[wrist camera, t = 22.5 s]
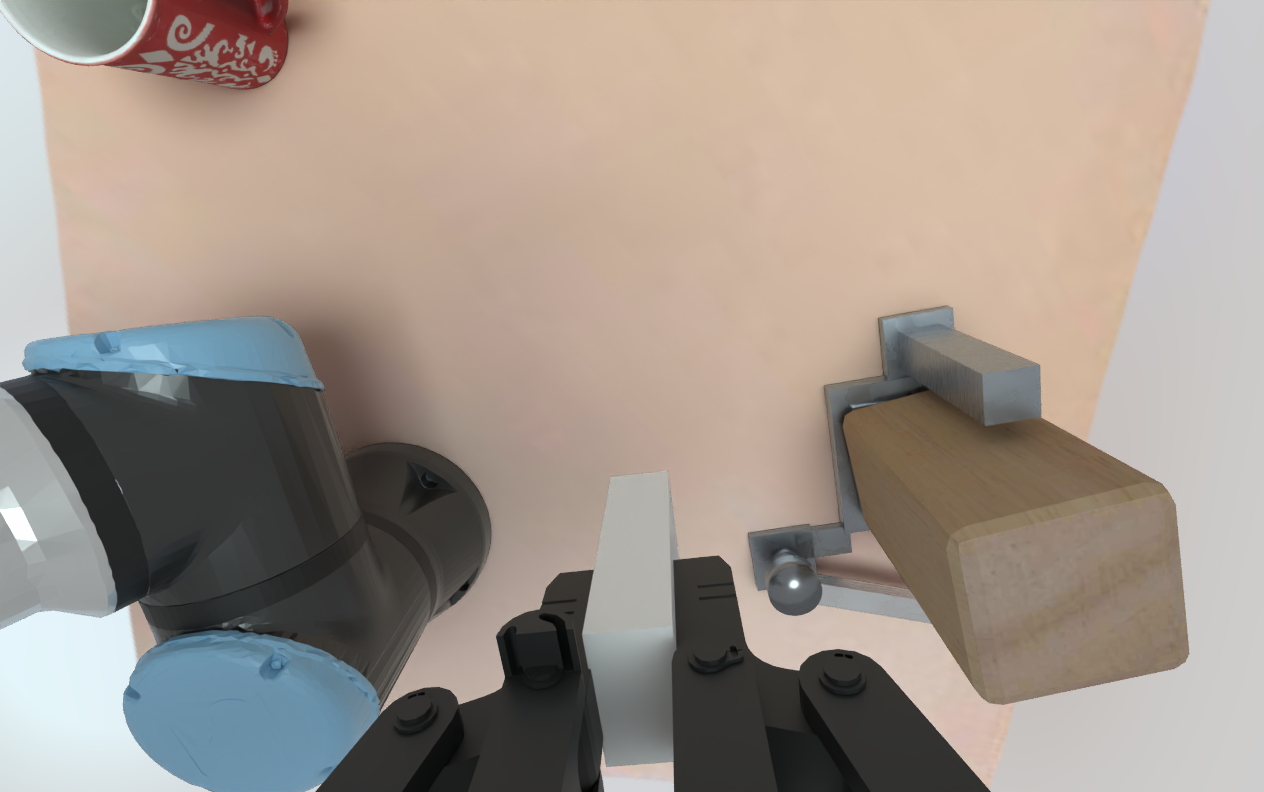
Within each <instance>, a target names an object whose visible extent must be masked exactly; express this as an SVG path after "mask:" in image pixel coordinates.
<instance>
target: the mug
mask: <svg viewBox="0 0 1264 792" xmlns="http://www.w3.org/2000/svg"><path fill="white" fill-rule="evenodd" d="M287 9H288V0H0V11H1V13H2V14H3V15H4V17H5V18H6V19H7V21H8V22H9V23H10V24H11V25H12V27H13V28H14V29H15V30H16V31H17V32H18V33H19V34H20V35H21V36H22V37H23V38H24V39H25V40H27V41H28V42H29V43H30V44H32V45H33V46H35V47H36V48H37V49H39V50H41V51H42V52H44V53H46V54H47V55H49V56H51V57H54V58H56V59H58V60H61V61H64V62H66V63H71V64H75V65H84V66H97V65H105V66H111V67H116V68H121V69H127V70H133V71H138V72H145V73H152V74H157V75H163V76H169V77H174V78H179V79H185V80H192V81H197V82H202V83H208V84H213V85H218V86H223V87H228V88H233V89H251V88H256V87H259V86H261V85H263V84H265V83H267V82H268V81H270V80H271V79H272V78H273V77H274V76H275V75H276V74H277V72H278V71H279V70H280V68H281V66H282V64H283V62H284V59H285V56H286V52H287V43H288V37H287V29H286V24H285V20H284V18H285V15H286V13H287Z"/></svg>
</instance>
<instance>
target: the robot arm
mask: <svg viewBox="0 0 1264 792" xmlns="http://www.w3.org/2000/svg"><path fill="white" fill-rule="evenodd" d="M24 353H25V359H24V360H23V362H22V364H23V366H24V368H25V370H28V371H29V372H31V375H28V376H25V377H22V378H17V379H13V380H9V381H5V382H1V383H0V629H2V628H4V627H7V626H9V625H11V624H13V623H15V622H17V621H19V620H21V619H24V618H26V617H28V616H30V615H32V614H34V613H36V612H41V611H52V610H54V611H61V612H68V613H74V614H80V615H87V616H93V617H99V618H100V617H104V616H107V615H109V614H112V613H114V612H116V611H118V610H120V609H122V608H124V607H126V606H128V605H130V604H132V603H134V602H136V601H139V603H140V606H141V608H142V610H143V612H144V614H145V616H146V619H147V621H148V623H149V626H150V628H151V630H152V632H153V634H154V637H155V639H156V641H157V645H156V646H154V647H153V648H151V649H150V650H149V651H147V652H146V653H145V654H144V655H143V656H142V657H141V658H140V660H139V661H138V663H137V665H136V667H135V670H134V671H133V673H132V675H131V676H130V682H129V685H128V687H127V688H126V690H125V692H124V698H123V711H124V714H125V718H126V722H127V725H128V727H129V729H130V731H131V733H132V735H133V736H134V738H135V740H136V741H137V743H138V744H139V745H140V746H141V748H142V749H143V750H144V751H145V752H146V753H147V754H148V756H150V758H152V759H153V760H154V761H155V762H156V763H158V764H159V765H160V766H161V767H163V768H164V769H165V770H167V771H168V772H170V773H171V774H173V775H174V776H176V777H178V778H180V779H182V780H184V781H185V782H187V783H189V784H192V785H196V786H199V787H203V788H205V789H207V790H209V791H212V792H305V791H307V790H310V789H312V788H314V787H316V786H318V785H320V784H321V786H320V787H319V788H318V789H317V791H316V792H604V787H603V780H602V775H601V770H600V765H601V755H602V746H603V751H604V757H605V762H606V767H611V766H624V765H637V764H650V763H663V762H674V792H990V790H989V789H988V788H987V787H986V786H985V785H984V783H983V782H982V781H981V780H980V779H979V778H978V777H977V775H976V774H975V773H974V772H973V771H972V770H971V769H970V767H969V766H968V765H967V764H966V763H965V762H964V761H963V759H962V758H961V757H960V756H959V755H958V754H957V753H956V751H955V750H954V749H953V748H952V747H951V746H950V745H949V743H948V742H947V741H946V740H945V739H944V738H943V737H942V735H941V734H940V733H939V732H938V731H937V730H936V729H935V727H934V726H933V725H932V724H931V723H930V722H929V721H928V719H927V718H926V717H925V716H924V715H923V714H922V713H921V711H920V710H919V709H918V708H917V707H916V706H915V705H914V703H913V702H912V701H911V700H910V699H909V698H908V696H907V695H906V694H905V693H904V692H903V691H902V690H901V688H900V687H899V686H898V685H897V684H896V683H895V682H894V680H893V679H892V678H891V677H890V676H889V675H888V674H887V672H886V671H885V670H884V669H883V668H882V667H881V666H880V665H879V664H877V663H876V662H875V661H874V660H872V659H871V658H870V657H867V656H865V655H862V654H860V653H857V652H855V651H847V650H840V649H836V650H827V651H821V652H819V653H817V654H814V655H812V656H810V657H808V658H807V660H806V661H805V662H804V663H803V664H802V665H801V667H800V671H797V670H790V669H784V668H780V667H776V666H772V665H770V664H768V663H765V662H763V661H761V660H760V659H759V658H757V657H756V656H754V655H753V653H752V652H751V651H750V650H749V649H748V646H747V644H746V641H745V637H744V632H743V627H742V622H741V617H740V612H739V607H738V601H737V597H736V591H735V586H734V581H733V576H732V571H731V567H730V566H729V565H728V564H727V563H726V562H725V561H724V560H723V559H722V558H721V557H720V556H709V557H699V558H690V559H680V560H679V552H678V545H677V537H676V529H675V522H674V514H673V507H672V499H671V492H670V484H669V476H668V470H667V471H658V472H649V473H640V474H631V475H622V476H613V477H611V479H610V485H609V490H608V496H607V501H606V507H605V512H604V518H603V523H602V528H601V534H600V539H599V545H598V550H597V556H596V561H595V567H594V570H587V571H577V572H567V573H560V574H559V575H558V576H557V577H556V578H555V579H554V580H553V581H552V582H551V583H550V584H549V585H548V586H547V588H546V591H545V595H544V598H543V601H542V605H541V608H540V610H535V611H530V612H526V613H524V614H522V615H519V616H517V617H515V618H513V619H512V620H510V621H509V622H508V623H506V624H505V625H504V626H503V627H502V628H501V629H500V631H499V632H498V634H497V635H496V639H497V643H498V647H499V652H500V656H501V661H502V665H503V670H504V674H505V680H504V683H503V686H502V688H501V689H499V690H498V691H496V692H494V693H492V694H489V695H487V696H484V697H481V698H478V699H475V700H472V701H469V702H466V703H463V704H460V705H458V701H457V698H456V696H455V695H454V694H453V693H452V692H451V691H450V690H447V689H444V688H440V687H431V688H423V689H419V690H416V691H413V692H410V693H408V694H406V695H404V696H403V697H401V698H399V699H397V700H395V701H394V702H393V703H392V704H391V705H390V706H388V707H387V708H386V709H385V710H384V711H383V712H382V713H381V714H380V711H381V709H382V707H383V705H384V703H385V702H386V700H387V698H388V696H389V694H390V692H391V690H392V688H393V687H394V685H395V683H396V681H397V679H398V677H399V675H400V673H401V672H402V670H403V668H404V666H405V664H406V662H407V660H408V659H409V657H410V655H411V653H412V651H413V649H414V647H415V645H416V644H417V642H418V640H419V638H420V636H421V634H422V632H423V630H424V628H425V627H426V625H427V623H428V622H430V621H431V620H433V619H434V618H435V617H437V616H438V615H440V614H441V613H443V612H444V611H445V610H447V609H448V608H450V607H451V606H452V605H454V604H455V603H456V602H458V601H459V600H460V599H461V598H462V597H463V596H464V595H465V594H466V593H467V592H468V591H469V589H470V588H471V587H472V586H473V584H474V583H475V581H476V579H477V578H478V576H479V574H480V572H481V570H482V568H483V566H484V564H485V561H486V559H487V556H488V553H489V549H490V543H491V525H490V519H489V514H488V511H487V508H486V505H485V503H484V501H483V498H482V496H481V495H480V493H479V491H478V490H477V488H476V487H475V485H474V484H473V483H472V481H471V480H470V479H469V478H468V477H467V476H466V475H465V473H463V472H462V471H461V470H460V469H459V468H458V467H457V466H455V465H454V464H453V463H451V462H450V461H449V460H447V459H445V458H444V457H442V456H440V455H438V454H436V453H434V452H432V451H430V450H427V449H424V448H421V447H418V446H414V445H409V444H401V443H382V444H375V445H370V446H367V447H363V448H361V449H358V450H356V451H354V452H352V453H350V454H348V455H346V456H345V457H344V454H343V451H342V448H341V445H340V442H339V439H338V436H337V433H336V431H335V428H334V425H333V422H332V419H331V416H330V413H329V410H328V407H327V404H326V401H325V398H324V395H323V392H322V391H323V390H325V388H324V385H323V383H322V382H321V381H319V380H318V379H317V378H316V375H315V373H314V370H313V368H312V365H311V363H310V360H309V358H308V355H307V353H306V350H305V348H304V345H303V343H302V340H301V338H300V336H299V334H298V333H297V332H296V330H295V329H294V328H293V327H291V326H290V325H289V324H287V323H286V322H284V321H282V320H280V319H277V318H273V317H268V316H252V317H237V318H226V319H215V320H204V321H194V322H184V323H175V324H166V325H157V326H148V327H140V328H132V329H124V330H120V331H107V332H100V333H92V334H80V335H71V336H64V337H56V338H49V339H43V340H37V341H35V342H32V343H29V344H28V345H27V346H26V347H25V350H24ZM379 714H380V716H379Z"/></svg>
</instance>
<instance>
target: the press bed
mask: <svg viewBox="0 0 1264 792" xmlns="http://www.w3.org/2000/svg"><path fill="white" fill-rule="evenodd" d="M878 319H879V331H880V342H881V353H882V364H883V375H884V376H878V377H872V378H866V379H860V380H855V381H849V382H843V383H837V384H831V385H825V386H824V388H825V397H826V405H827V414H828V423H829V431H830V440H831V448H832V457H833V466H834V474H835V483H836V491H837V500H838V509H839V517H840V523H834V524H827V525H820V526H814V527H810V525H809V524H805V525H798V526H792V527H785V528H779V529H772V530H765V531H759V532H752V533H748V535H749V541H750V547H751V553H752V560H753V566H754V572H755V579H756V585H757V589H758V591H760V590H767V588H766V584H765V573H766V571H767V568H768V567H769V566H770V564H771V563H772V562H774V561H775V560H776V559H778V558H780V557H783V556H789V555H794V556H800V557H803V558H805V559H806V560H808V561H809V562H810V563H811V564H812V565H813V567H814V569H815V571H816V573H817V570H816V562H815V558H817V557H824V556H831V555H838V554H845V553H851V552H852V548H851V539H850V533H852V532H859V531H865V530H870V529H869V527H868V526H867V524H866V523H865V520H864V516H863V512H862V508H861V503H860V499H859V495H858V490H857V486H856V482H855V477H854V473H853V469H852V465H851V460H850V456H849V452H848V447H847V443H846V439H845V434H844V430H843V423H844V417H845V415H846V414H848V413H850V412H851V411H854V410H857V409H861V408H865V407H868V406H872V405H876V404H880V403H883V402H887V401H891V400H894V399H898V398H902V397H906V396H909V395H913V394H917V393H920V392H924V391H928V390H932V391H933V392H935V393H936V394H937V395H939V396H940V397H942V398H943V399H945V400H946V401H948V402H949V403H951V404H952V405H954V406H955V407H957V408H958V409H960V410H961V411H963V412H964V413H966V414H967V415H969V416H970V417H972V418H973V419H975V420H976V421H978V422H979V423H981V424H982V425H984V426H989V425H995V424H1002V423H1008V422H1014V421H1020V420H1026V419H1033V418H1039V417H1041V385H1040V365H1039V364H1037V363H1034V362H1032V361H1030V360H1027V359H1025V358H1022V357H1020V356H1017V355H1015V354H1013V353H1010V352H1008V351H1005V350H1003V349H1000V348H998V347H995V346H993V345H991V344H988V343H986V342H983V341H981V340H978V339H976V338H973V337H971V336H969V335H966V334H964V333H961V332H959V331H956V330H954V317H953V308H952V307H949V306H943V307H937V308H932V309H926V310H920V311H915V312H909V313H904V314H898V315H892V316H887V317H881V318H878Z"/></svg>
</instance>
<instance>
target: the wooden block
mask: <svg viewBox="0 0 1264 792" xmlns="http://www.w3.org/2000/svg"><path fill="white" fill-rule="evenodd" d="M843 430H844V434H845V439H846V443H847V447H848V452H849V456H850V460H851V465H852V469H853V473H854V477H855V482H856V486H857V490H858V495H859V499H860V503H861V508H862V512H863V516H864V520H865V523H866V524H867V526H868V527H869V529H870V530H871V532H872V533H873V535H874V536H875V538H876V539H877V541H878V542H879V544H880V545H881V547H882V548H883V550H884V552H885V553H886V555H887V556H888V558H889V559H890V561H891V562H892V564H893V565H894V567H895V568H896V570H897V571H898V573H899V574H900V576H901V577H902V579H903V581H904V582H905V584H906V585H907V587H908V588H909V590H910V591H911V593H912V594H913V596H914V597H915V599H916V600H917V602H918V603H919V605H920V606H921V608H922V609H923V611H924V613H925V614H926V616H927V617H928V619H929V620H930V622H931V623H932V625H933V626H934V628H935V629H936V631H937V632H938V634H939V635H940V637H941V638H942V640H943V642H944V643H945V645H946V646H947V648H948V649H949V651H950V652H951V654H952V655H953V657H954V658H955V660H956V661H957V663H958V664H959V666H960V667H961V669H962V671H963V672H964V674H965V675H966V677H967V678H968V680H969V681H970V683H971V684H972V686H973V687H974V689H975V690H976V691H977V692H978V693H979V695H980V696H981V697H982V698H983V699H985V700H986V701H987V702H989V703H993V704H1001V705H1004V704H1009V703H1014V702H1018V701H1023V700H1028V699H1033V698H1038V697H1042V696H1047V695H1052V694H1056V693H1061V692H1066V691H1071V690H1076V689H1080V688H1085V687H1090V686H1095V685H1100V684H1104V683H1109V682H1114V681H1118V680H1123V679H1128V678H1133V677H1138V676H1143V675H1147V674H1151V673H1157V672H1161V671H1166V670H1171V669H1175V668H1176V667H1178V666H1180V665H1181V664H1183V663H1184V662H1185V661H1186V659H1187V657H1188V655H1189V646H1188V634H1187V623H1186V612H1185V602H1184V591H1183V580H1182V569H1181V558H1180V547H1179V537H1178V526H1177V515H1176V505H1175V503H1174V501H1173V499H1172V497H1171V495H1170V493H1169V492H1168V491H1167V489H1166V488H1165V487H1164V486H1163V484H1161V483H1160V482H1158V481H1156V480H1154V479H1152V478H1150V477H1149V476H1147V475H1145V474H1143V473H1141V472H1140V471H1138V470H1136V469H1134V468H1132V467H1130V466H1129V465H1127V464H1125V463H1123V462H1121V461H1119V460H1117V459H1116V458H1114V457H1112V456H1110V455H1108V454H1107V453H1105V452H1103V451H1101V450H1099V449H1097V448H1096V447H1094V446H1092V445H1090V444H1088V443H1087V442H1085V441H1083V440H1081V439H1079V438H1077V437H1076V436H1074V435H1072V434H1070V433H1068V432H1066V431H1065V430H1063V429H1061V428H1059V427H1057V426H1055V425H1054V424H1052V423H1050V422H1048V421H1046V420H1044V419H1043V418H1041V417H1039V418H1033V419H1026V420H1020V421H1014V422H1008V423H1002V424H995V425H989V426H984V425H982V424H981V423H979V422H978V421H976V420H975V419H973V418H972V417H970V416H969V415H967V414H966V413H964V412H963V411H961V410H960V409H958V408H957V407H955V406H954V405H952V404H951V403H949V402H948V401H946V400H945V399H943V398H942V397H940V396H939V395H937V394H936V393H935V392H933V391H932V390H928V391H924V392H920V393H917V394H913V395H909V396H906V397H902V398H898V399H894V400H891V401H887V402H883V403H880V404H876V405H872V406H868V407H865V408H861V409H857V410H854V411H851V412H850V413H848V414H846V415H845V417H844V423H843Z"/></svg>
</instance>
